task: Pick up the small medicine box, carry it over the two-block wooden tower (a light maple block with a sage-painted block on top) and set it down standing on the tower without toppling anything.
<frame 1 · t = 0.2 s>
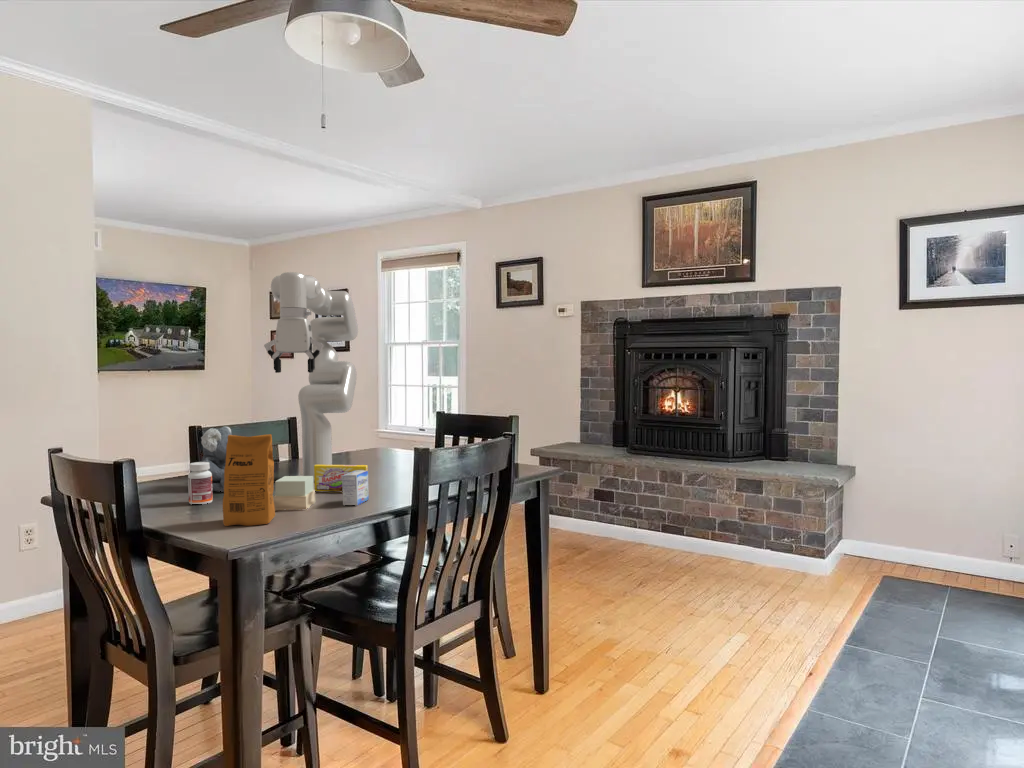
hand: (294, 372, 204), 36 cm above the table, tool pointing down, fingers open, 9 cm apart
candy box: (341, 492, 209), on the table
pill bottle: (200, 503, 194), on the table
maple block: (294, 507, 189), on the table, touching sage block
medicine box: (355, 503, 193), on the table
koala plush: (219, 488, 216), on the table
sage block: (294, 493, 189), point 4 cm above the table, touching maple block
coffee package: (249, 522, 172), on the table
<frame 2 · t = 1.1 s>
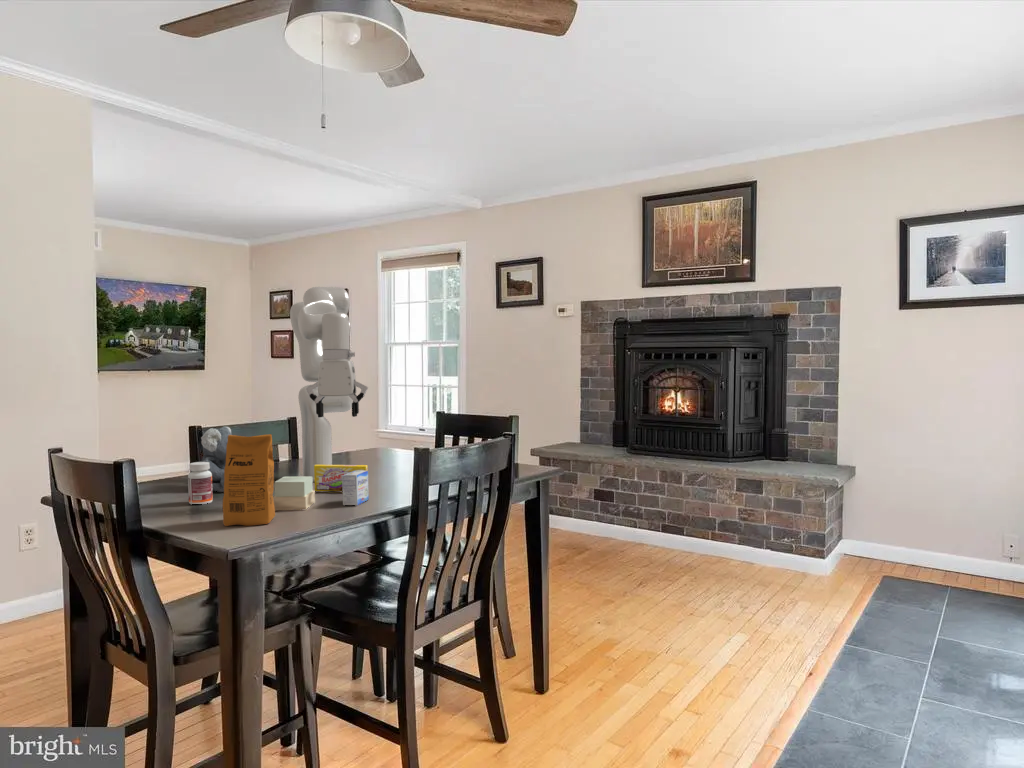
hand: (337, 416, 195), 24 cm above the table, tool pointing down, fingers open, 9 cm apart
maple block: (294, 507, 189), on the table
sage block: (294, 493, 189), point 4 cm above the table
everything else where it was.
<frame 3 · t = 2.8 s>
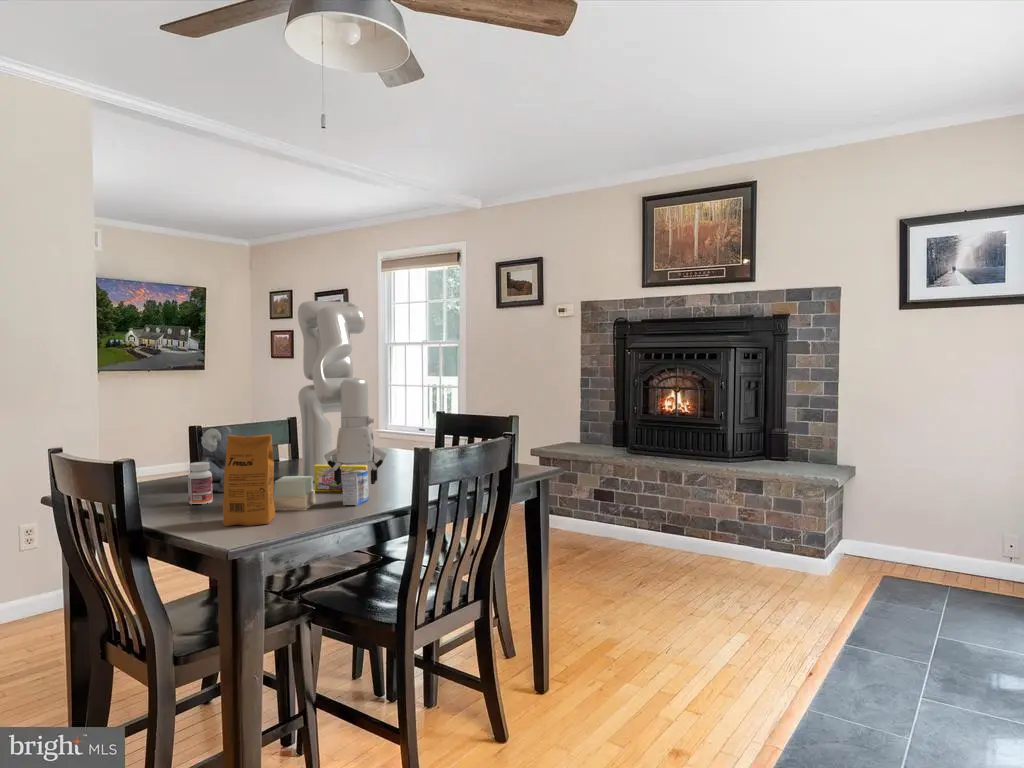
hand: (356, 483, 193), 6 cm above the table, tool pointing down, fingers open, 9 cm apart
maple block: (294, 507, 189), on the table, touching sage block
sage block: (294, 493, 189), point 4 cm above the table, touching maple block
everything else where it was.
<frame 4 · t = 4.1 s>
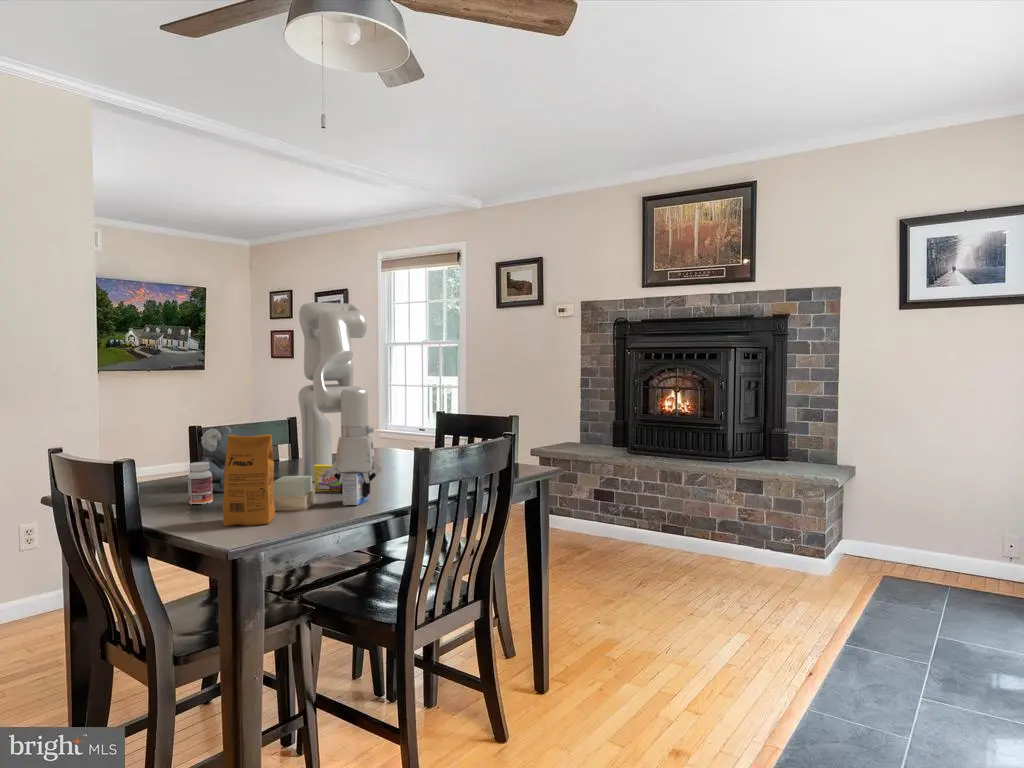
hand: (355, 495, 193), 2 cm above the table, tool pointing down, fingers closed on medicine box, 5 cm apart
medicine box: (355, 503, 193), on the table, touching gripper
everything else where it was.
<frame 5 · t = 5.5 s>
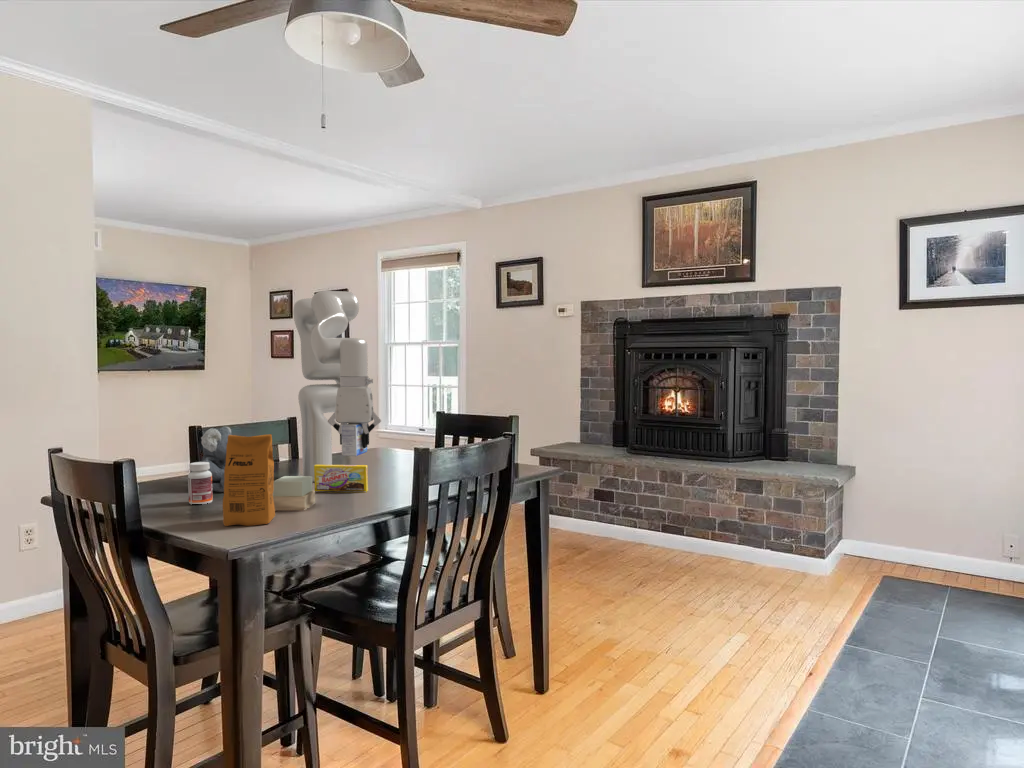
hand: (354, 446, 193), 16 cm above the table, tool pointing down, fingers closed on medicine box, 5 cm apart
maple block: (293, 507, 189), on the table
medicine box: (354, 454, 193), point 14 cm above the table, touching gripper
sage block: (293, 493, 189), point 4 cm above the table
everything else where it was.
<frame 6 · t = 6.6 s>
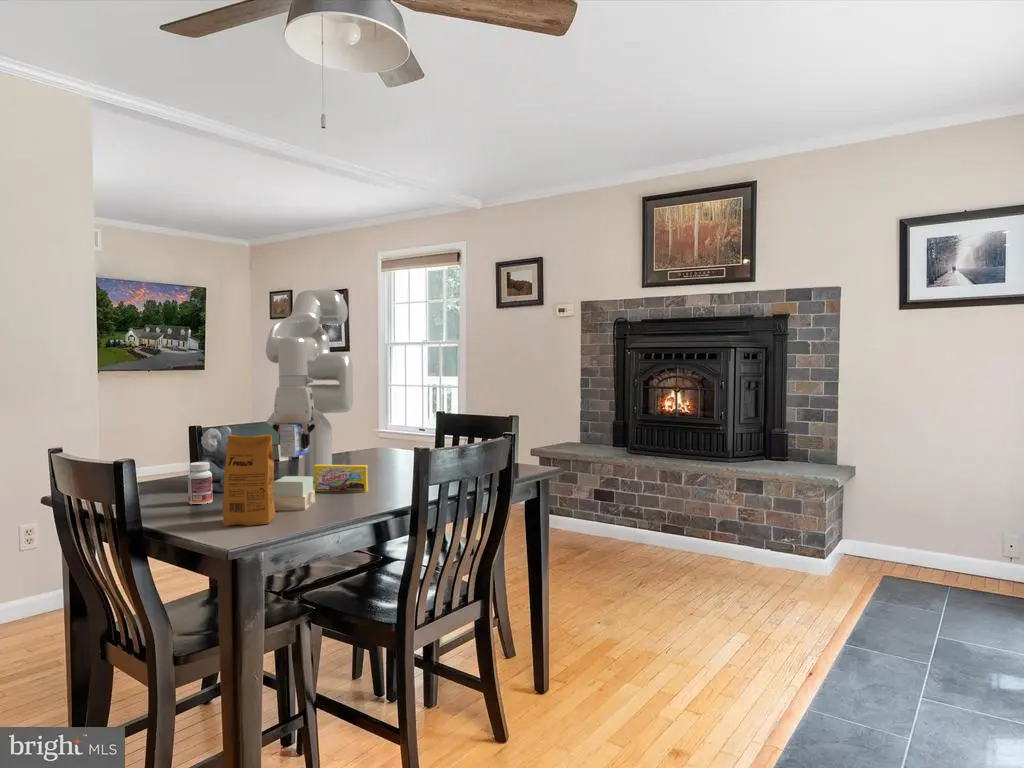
hand: (294, 447, 189), 16 cm above the table, tool pointing down, fingers closed on medicine box, 5 cm apart
maple block: (293, 507, 189), on the table, touching sage block
medicine box: (294, 455, 189), point 14 cm above the table, touching gripper
sage block: (293, 493, 189), point 4 cm above the table, touching maple block
everything else where it was.
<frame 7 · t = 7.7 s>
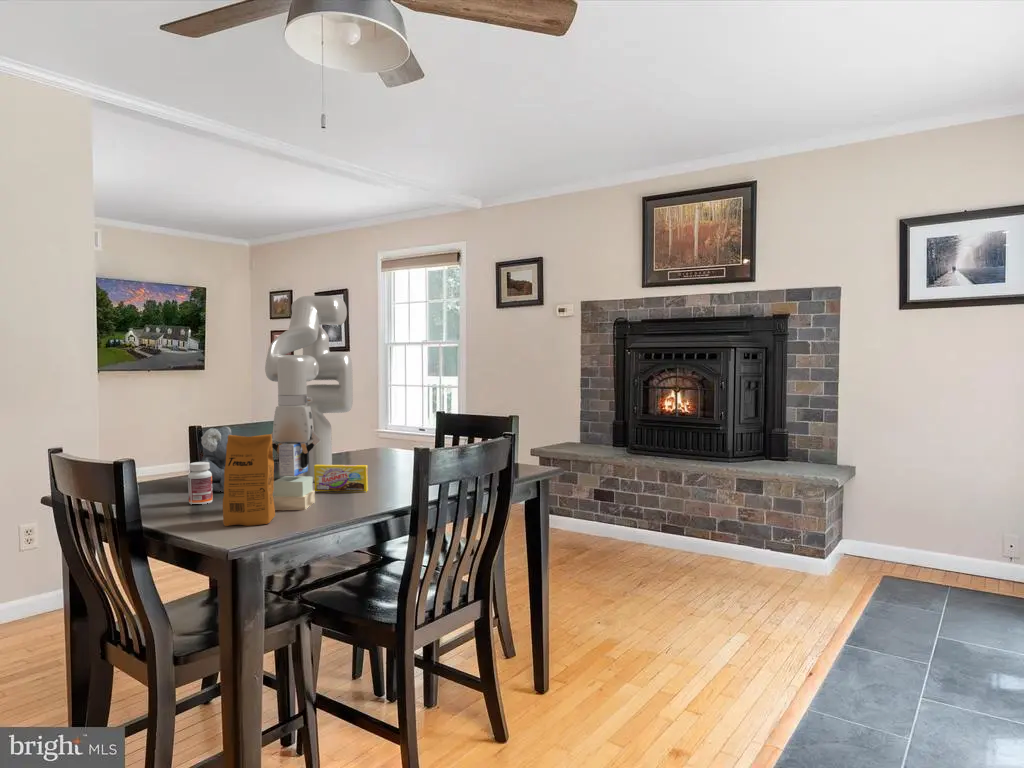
hand: (293, 466, 189), 11 cm above the table, tool pointing down, fingers closed on medicine box, 5 cm apart
medicine box: (293, 474, 189), point 9 cm above the table, touching gripper
everything else where it was.
when the fingers open (11 cm above the table, at t = 8.3 s): medicine box drops 1 cm, resting on sage block.
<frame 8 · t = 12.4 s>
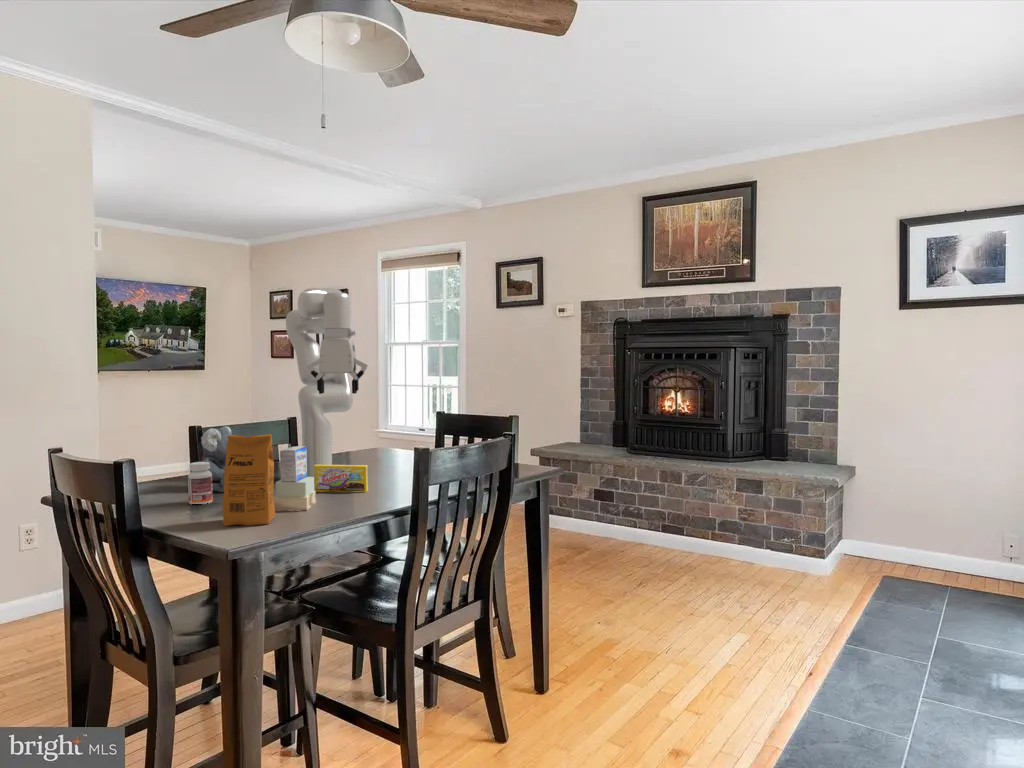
hand: (338, 393, 202), 30 cm above the table, tool pointing down, fingers open, 9 cm apart
medicine box: (294, 480, 188), point 7 cm above the table, touching sage block
sage block: (295, 494, 188), point 4 cm above the table, touching maple block, medicine box
at the end: medicine box inside the target area on the maple block (0.4 cm from its centre), point 7.8 cm above the maple block's base; medicine box tilted 0°; sage block moved 1.1 cm from its start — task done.
